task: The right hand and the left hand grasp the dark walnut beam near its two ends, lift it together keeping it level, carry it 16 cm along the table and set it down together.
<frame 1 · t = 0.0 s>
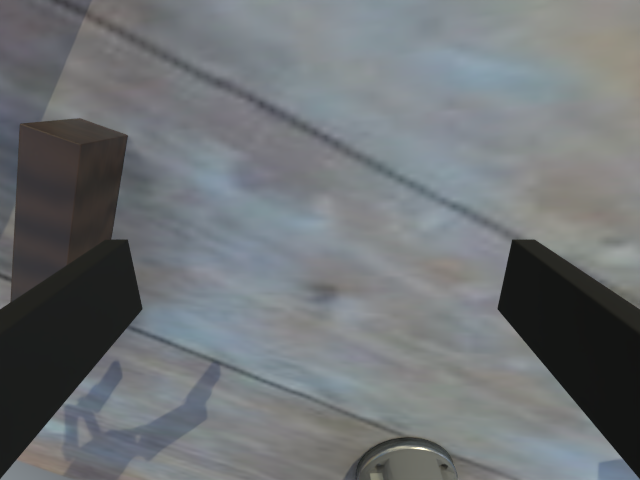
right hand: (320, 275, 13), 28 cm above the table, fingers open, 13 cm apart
walnut beam: (87, 250, 43), on the table
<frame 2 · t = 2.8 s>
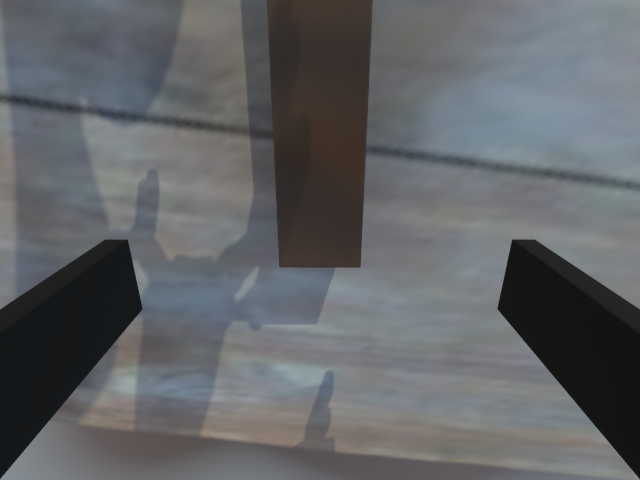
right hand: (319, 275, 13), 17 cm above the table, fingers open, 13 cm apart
walnut beam: (319, 12, 24), on the table
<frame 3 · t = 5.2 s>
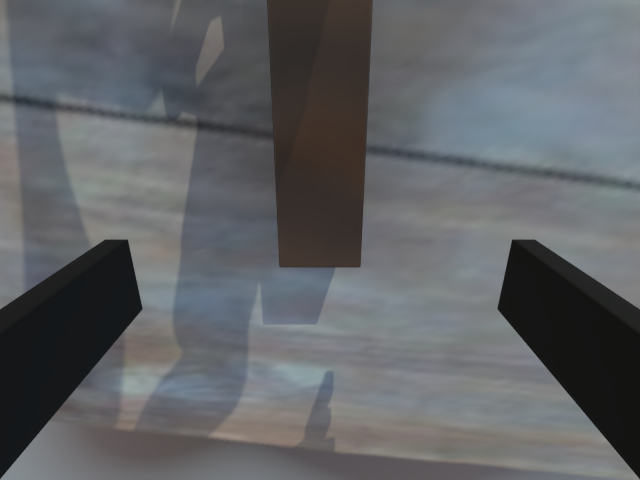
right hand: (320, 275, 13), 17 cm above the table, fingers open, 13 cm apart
walnut beam: (319, 12, 24), on the table, touching left hand
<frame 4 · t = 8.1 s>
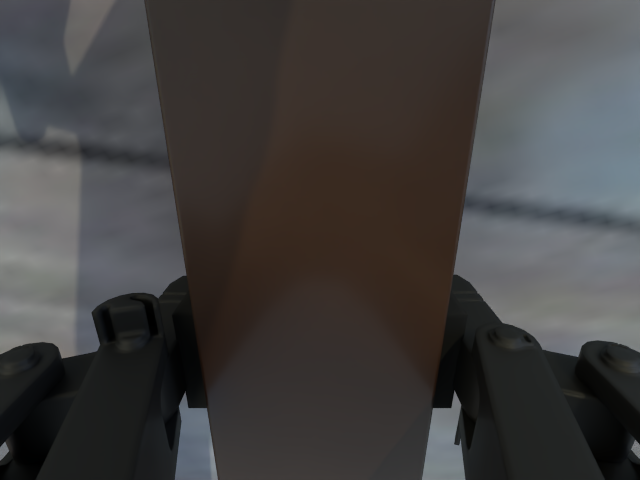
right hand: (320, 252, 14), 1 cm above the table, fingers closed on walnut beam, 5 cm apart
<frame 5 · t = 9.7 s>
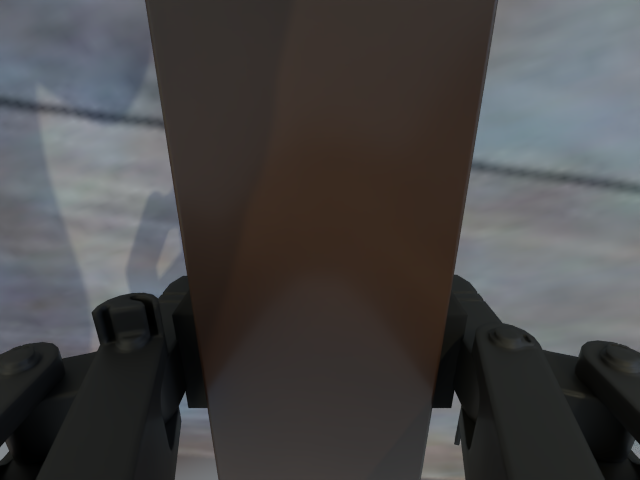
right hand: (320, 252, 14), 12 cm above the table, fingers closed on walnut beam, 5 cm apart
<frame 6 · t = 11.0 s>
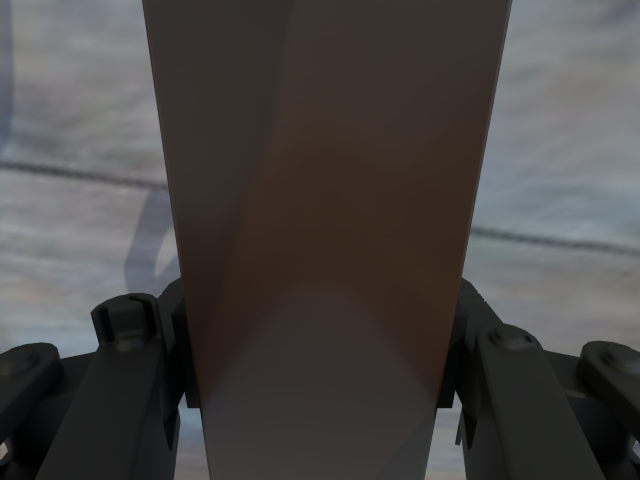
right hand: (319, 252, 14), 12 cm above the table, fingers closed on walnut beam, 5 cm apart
when the right hand's fingers open (2 cm above the table, at t = 14.1 s): walnut beam moves 1 cm, on the table.
when the left hand's fingers open (4 cm above the table, at t = 14.3 s): walnut beam stays where it is, on the table.
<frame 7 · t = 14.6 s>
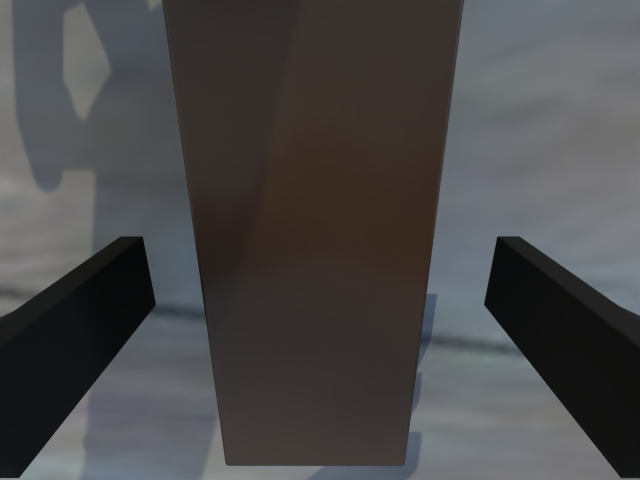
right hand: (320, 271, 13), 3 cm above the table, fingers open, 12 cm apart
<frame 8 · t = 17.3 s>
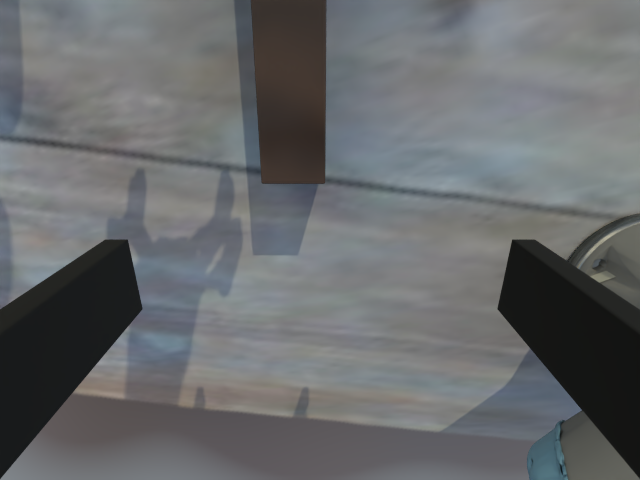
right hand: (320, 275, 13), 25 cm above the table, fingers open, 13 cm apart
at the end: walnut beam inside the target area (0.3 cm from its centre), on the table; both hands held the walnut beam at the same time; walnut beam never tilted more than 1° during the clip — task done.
